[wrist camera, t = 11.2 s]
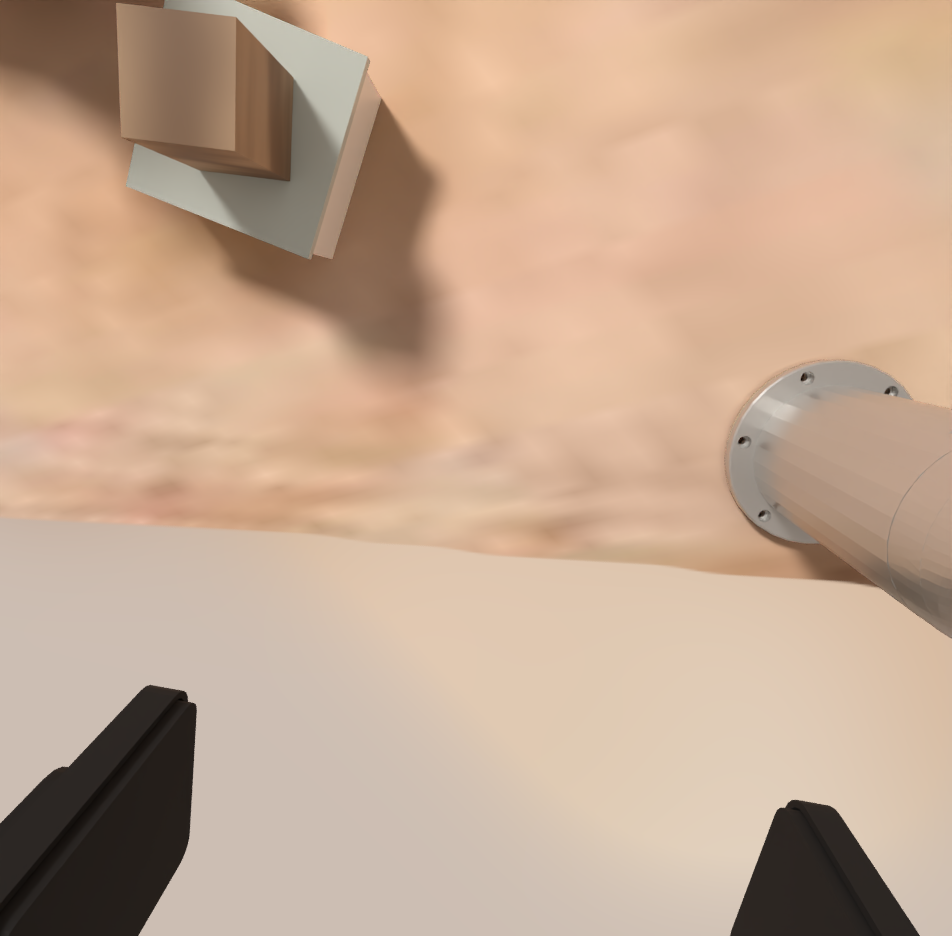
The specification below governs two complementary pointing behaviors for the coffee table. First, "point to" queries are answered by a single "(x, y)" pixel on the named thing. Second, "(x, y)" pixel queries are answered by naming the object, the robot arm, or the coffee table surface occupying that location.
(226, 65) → the walnut block
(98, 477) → the coffee table surface
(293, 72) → the pale grey box
